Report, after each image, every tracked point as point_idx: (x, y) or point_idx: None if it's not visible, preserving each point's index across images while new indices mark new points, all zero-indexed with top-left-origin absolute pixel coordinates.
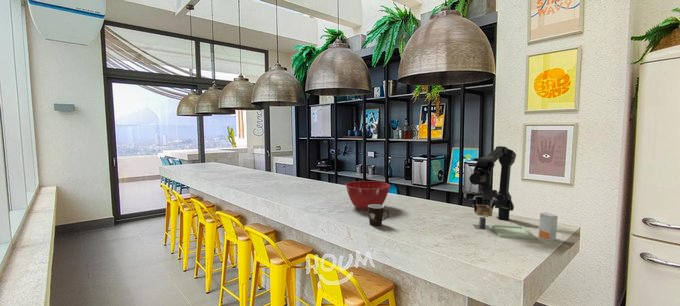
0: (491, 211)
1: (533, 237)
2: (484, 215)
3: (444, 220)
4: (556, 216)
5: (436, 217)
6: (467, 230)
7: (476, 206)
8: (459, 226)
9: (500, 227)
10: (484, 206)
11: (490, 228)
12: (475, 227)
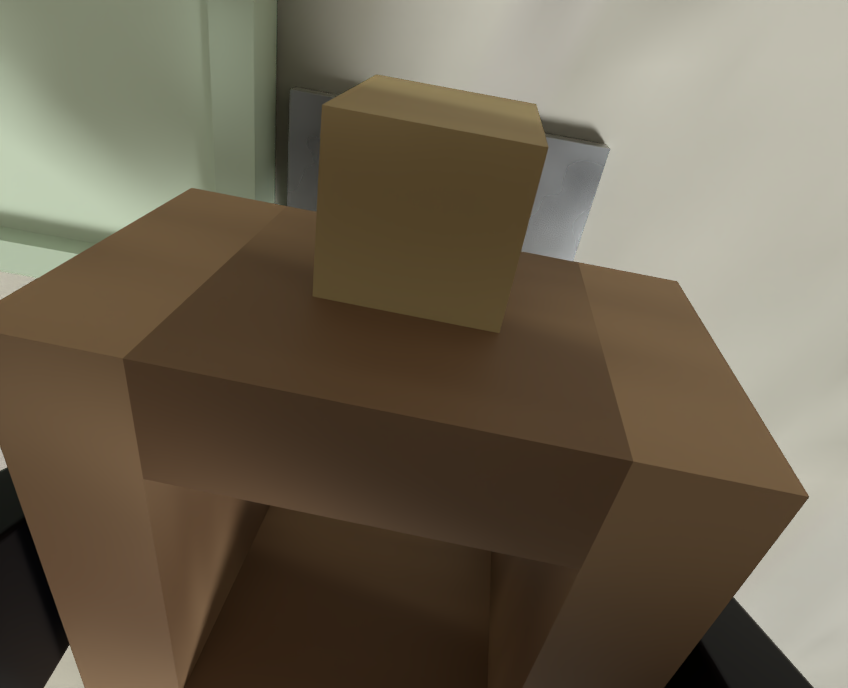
0: (108, 268)
1: None
2: (505, 111)
3: (820, 576)
4: None
5: (838, 662)
6: (809, 114)
7: (653, 678)
8: (792, 343)
9: (104, 220)
10: (260, 683)
11: (298, 191)
12: (565, 245)
